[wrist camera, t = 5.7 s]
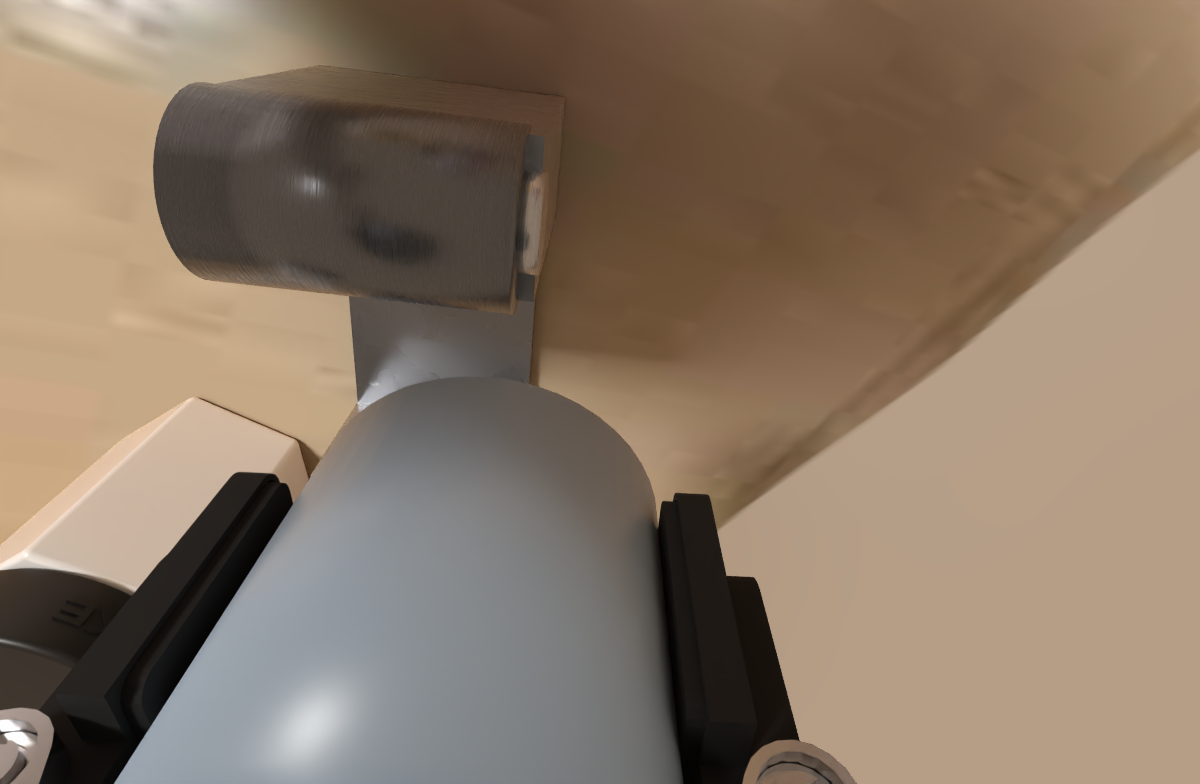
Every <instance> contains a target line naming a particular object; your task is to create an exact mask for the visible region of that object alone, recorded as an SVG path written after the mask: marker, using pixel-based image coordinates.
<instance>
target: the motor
mask: <svg viewBox="0 0 1200 784" xmlns="http://www.w3.org/2000/svg"><path fill="white" fill-rule="evenodd" d="M564 108H565V97H561V96H553V95H545V94H537V93H530V92H522V91H514V90H507V89H499V88H491V87H483V86H476V85H468V84H460V83H452V82H445V81H437V80H429V79H422V78H414V77H406V76H398V75H391V74H383V73H375V72H368V71H360V70H352V69H344V68H337V67H329V66H321V65H319V66H314V67H308V68H302V69H297V70H291V71H285V72H280V73H274V74H268V75H263V76H257V77H251V78H246V79H240V80H234V81H229V82H223V83H217V84H213V83H205V82H198V83H193V84H189V85H187V86H186V87H184V88H182V89H181V90H179V92H178V93H177V94H176V95H175V96H174V97H173V99H172V100H171V101H170V103H169V104H168V106H167V108H166V110H165V112H164V114H163V117H162V120H161V122H160V125H159V129H158V133H157V137H156V143H155V150H154V163H153V176H154V190H155V198H156V203H157V209H158V213H159V217H160V220H161V224H162V227H163V230H164V232H165V235H166V237H167V240H168V242H169V244H170V246H171V248H172V249H173V251H174V253H175V254H176V256H177V258H178V259H179V260H180V261H181V263H182V264H183V265H184V266H185V267H186V268H187V269H188V270H189V271H190V272H192V273H193V274H195V275H196V276H198V277H200V278H202V279H205V280H211V281H219V282H228V283H237V284H246V285H255V286H264V287H273V288H282V289H290V290H299V291H308V292H317V293H326V294H335V295H344V296H349V301H350V313H351V325H352V337H353V349H354V361H355V373H356V385H357V397H358V402H357V404H356V406H355V407H354V409H353V410H352V412H351V413H350V415H349V416H348V418H347V419H346V421H345V423H344V424H343V426H342V427H341V429H340V430H339V432H338V433H337V435H336V436H335V438H334V440H335V439H336V437H337V436H338V434H339V433H340V431H341V430H342V429H343V428H344V427H345V426H346V425H347V424H348V423H349V422H350V420H351V419H352V418H353V417H354V416H356V415H357V414H358V413H360V412H361V411H362V410H363V409H365V408H366V407H367V406H369V405H370V404H372V403H373V402H375V401H377V400H379V399H381V398H382V397H384V396H386V395H388V394H390V393H392V392H395V391H397V390H400V389H403V388H405V387H408V386H410V385H414V384H418V383H422V382H426V381H430V380H435V379H443V378H452V377H491V378H500V379H509V380H513V381H518V382H522V383H526V384H530V371H531V357H532V343H533V329H534V315H535V302H536V290H537V286H538V282H539V278H540V274H541V271H542V267H543V263H544V259H545V255H546V251H547V248H548V244H549V240H550V236H551V232H552V229H553V225H554V221H555V217H556V205H557V193H558V181H559V169H560V157H561V145H562V133H563V120H564ZM334 440H333V441H332V443H333V442H334ZM332 443H331V444H330V446H331V445H332ZM330 446H329V447H328V449H329V448H330ZM328 449H327V450H326V452H327V451H328ZM326 452H325V453H324V455H325V454H326ZM324 455H323V457H324ZM323 457H322V458H321V460H322V459H323ZM321 460H320V461H319V463H320V462H321ZM319 463H318V464H317V466H318V465H319ZM317 466H316V467H315V469H316V468H317ZM315 469H314V470H313V472H312V474H313V473H314V471H315ZM312 474H311V475H310V477H311V476H312Z"/></svg>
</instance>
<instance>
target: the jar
mask: <svg viewBox="0 0 1200 784" xmlns="http://www.w3.org/2000/svg"><path fill="white" fill-rule="evenodd" d="M237 472H255V473H272V474H275V475H276V476H277V477H278V478H279V481H280V483H286V484H287V485H288V486H289V489H290V492H291V496H292V501H293V504H294V502H295V501H296V499H297V498H298V496H299V494H300V493H301V491H302V490H303V488H304V487H305V485H306V483H307V482H308V480H309V478H308V475H307V471H306V468H305V464H304V461H303V457H302V454H301V450H300V447H299V443H298V442H297V440H295V439H293V438H291V437H288V436H286V435H284V434H281V433H279V432H277V431H274V430H272V429H270V428H267V427H265V426H263V425H260V424H258V423H256V422H253V421H251V420H248V419H246V418H244V417H241V416H239V415H237V414H234V413H232V412H230V411H227V410H225V409H223V408H220V407H218V406H216V405H213V404H211V403H209V402H206V401H204V400H202V399H199V398H196V397H191V398H189V399H187V400H186V401H184V402H182V403H181V404H179V405H177V406H176V407H174V408H173V409H171V410H169V411H168V412H166V413H164V414H163V415H161V416H159V417H158V418H156V419H154V420H153V421H151V422H149V423H148V424H146V425H145V426H143V427H141V428H140V429H138V430H136V431H135V432H133V433H131V434H130V435H128V436H126V437H125V438H123V439H121V440H120V441H119V442H118V443H117V444H116V445H115V446H113V447H112V448H111V449H110V450H109V451H108V452H107V453H105V454H104V455H103V456H102V457H101V458H100V459H99V460H97V461H96V462H95V463H94V464H93V465H92V466H91V467H89V468H88V469H87V470H86V471H85V472H84V473H83V474H81V475H80V476H79V477H78V478H77V479H76V480H74V481H73V482H72V483H71V484H70V485H69V486H68V487H66V488H65V489H64V490H63V491H62V492H61V493H60V494H58V495H57V496H56V497H55V498H54V499H53V500H52V501H50V502H49V503H48V504H47V505H46V506H45V507H44V508H42V509H41V510H40V511H39V512H38V513H37V514H36V515H34V516H33V517H32V518H31V519H30V520H29V521H28V522H26V523H25V524H24V525H23V526H22V527H21V528H20V529H18V530H17V531H16V532H15V533H14V534H13V535H11V536H10V537H9V538H8V539H7V540H6V541H5V542H3V543H2V544H1V545H0V710H7V709H14V708H28V709H35V710H39V709H40V708H41V707H42V706H43V704H44V703H45V702H46V701H47V699H48V698H49V697H50V696H51V694H52V693H53V692H54V691H55V690H56V688H57V687H58V686H59V685H60V683H61V682H62V681H63V680H64V679H65V677H66V676H67V675H68V674H69V672H70V671H71V670H72V669H73V667H74V666H75V665H76V664H77V663H78V661H79V660H80V659H81V658H82V656H83V655H84V654H85V653H86V651H87V650H88V649H89V648H90V647H91V645H92V644H93V643H94V642H95V640H96V639H97V638H98V637H99V636H100V634H101V633H102V632H103V631H104V629H105V628H106V627H107V626H108V624H109V623H110V622H111V621H112V620H113V618H114V617H115V616H116V615H117V613H118V612H119V611H120V610H121V608H122V607H123V606H124V605H125V604H126V602H127V601H128V600H129V599H130V597H131V596H132V595H133V594H134V593H135V591H136V590H137V589H138V588H139V586H140V585H141V584H142V583H143V581H144V580H145V579H146V578H147V577H148V575H149V574H150V573H151V572H152V570H153V569H154V568H155V567H156V565H157V564H158V563H159V562H160V561H161V560H162V559H163V558H164V557H165V556H166V555H167V554H168V553H169V552H170V551H171V550H172V548H173V547H174V546H175V545H176V544H177V542H178V541H179V540H180V539H181V537H182V536H183V535H184V534H185V532H186V531H187V530H188V529H189V527H190V526H191V525H192V524H193V523H194V521H195V520H196V519H197V518H198V516H199V515H200V514H201V513H202V511H203V510H204V509H205V508H206V506H207V505H208V504H209V503H210V502H211V500H212V499H213V498H214V497H215V495H216V494H217V493H218V492H219V490H220V489H221V488H222V487H223V485H224V484H225V483H226V482H227V481H228V479H229V478H230V477H231V476H232V475H233V474H234V473H237Z"/></svg>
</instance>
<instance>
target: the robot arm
mask: <svg viewBox="0 0 1200 784" xmlns="http://www.w3.org/2000/svg"><path fill="white" fill-rule="evenodd" d="M292 505H293V501H292V496H291V492H290V489H289V486H288V485H287V484H286V483H280V481H279V478H278V477H277V476H276V475H275V474H272V473H255V472H237V473H234V474H233V475H232V476H231V477H230V478H229V479H228V481H227V482H226V483H225V484H224V485H223V487H222V488H221V489H220V490H219V492H218V493H217V494H216V495H215V497H214V498H213V499H212V500H211V502H210V503H209V504H208V505H207V506H206V508H205V509H204V510H203V511H202V513H201V514H200V515H199V516H198V518H197V519H196V520H195V521H194V523H193V524H192V525H191V526H190V527H189V529H188V530H187V531H186V532H185V534H184V535H183V536H182V537H181V539H180V540H179V541H178V542H177V544H176V545H175V546H174V547H173V548H172V550H171V551H170V552H169V553H168V554H167V555H166V556H165V557H164V558H163V559H162V560H161V561H160V562H159V563H158V564H157V565H156V567H155V568H154V569H153V570H152V572H151V573H150V574H149V575H148V577H147V578H146V579H145V580H144V581H143V583H142V584H141V585H140V586H139V588H138V589H137V590H136V591H135V593H134V594H133V595H132V596H131V597H130V599H129V600H128V601H127V602H126V604H125V605H124V606H123V607H122V608H121V610H120V611H119V612H118V613H117V615H116V616H115V617H114V618H113V620H112V621H111V622H110V623H109V624H108V626H107V627H106V628H105V629H104V631H103V632H102V633H101V634H100V636H99V637H98V638H97V639H96V640H95V642H94V643H93V644H92V645H91V647H90V648H89V649H88V650H87V651H86V653H85V654H84V655H83V656H82V658H81V659H80V660H79V661H78V663H77V664H76V665H75V666H74V667H73V669H72V670H71V671H70V672H69V674H68V675H67V676H66V677H65V679H64V680H63V681H62V682H61V683H60V685H59V686H58V687H57V688H56V690H55V691H54V692H53V693H52V694H51V696H50V697H49V698H48V699H47V701H46V702H45V703H44V704H43V706H42V707H41V708H40V709H39V710H35V709H28V708H14V709H7V710H0V784H114V783H115V781H116V780H117V778H118V777H119V775H120V774H121V772H122V771H123V769H124V767H125V766H126V764H127V763H128V761H129V760H130V758H131V756H132V755H133V753H134V752H135V750H136V749H137V747H138V746H139V744H140V742H141V741H142V739H143V738H144V736H145V735H146V733H147V732H148V730H149V728H150V727H151V725H152V724H153V722H154V721H155V719H156V717H157V716H158V714H159V713H160V711H161V710H162V708H163V707H164V705H165V703H166V702H167V700H168V699H169V697H170V696H171V694H172V693H173V691H174V689H175V688H176V686H177V685H178V683H179V682H180V680H181V678H182V677H183V675H184V674H185V672H186V671H187V669H188V668H189V666H190V664H191V663H192V661H193V660H194V658H195V657H196V655H197V654H198V652H199V650H200V649H201V647H202V646H203V644H204V643H205V641H206V639H207V638H208V636H209V635H210V633H211V632H212V630H213V629H214V627H215V625H216V624H217V622H218V621H219V619H220V618H221V616H222V615H223V613H224V611H225V610H226V608H227V607H228V605H229V604H230V602H231V600H232V599H233V597H234V596H235V594H236V593H237V591H238V590H239V588H240V586H241V585H242V583H243V582H244V580H245V579H246V577H247V576H248V574H249V572H250V571H251V569H252V568H253V566H254V565H255V563H256V561H257V560H258V558H259V557H260V555H261V554H262V552H263V551H264V549H265V547H266V546H267V544H268V543H269V541H270V540H271V538H272V537H273V535H274V533H275V532H276V530H277V529H278V527H279V526H280V524H281V522H282V521H283V519H284V518H285V516H286V515H287V513H288V512H289V510H290V508H291V507H292ZM658 535H659V545H660V555H661V566H662V576H663V586H664V596H665V606H666V617H667V627H668V637H669V647H670V657H671V668H672V678H673V688H674V698H675V708H676V718H677V729H678V739H679V749H680V759H681V766H682V774H683V783H684V784H857V783H856V782H855V780H854V779H853V778H852V776H851V775H850V774H849V772H848V771H847V769H846V768H845V767H844V766H843V765H842V764H841V763H839V762H838V761H837V760H836V759H835V758H834V757H833V756H831V755H830V754H829V753H827V752H825V751H823V750H822V749H820V748H818V747H816V746H814V745H812V744H809V743H805V742H801V741H800V740H799V737H798V733H797V729H796V725H795V722H794V718H793V714H792V710H791V706H790V702H789V699H788V695H787V691H786V687H785V684H784V680H783V676H782V672H781V668H780V665H779V661H778V657H777V653H776V650H775V645H774V642H773V638H772V634H771V630H770V626H769V623H768V619H767V615H766V612H765V607H764V604H763V600H762V596H761V592H760V589H759V586H758V583H757V581H756V580H755V578H754V577H738V576H726V572H725V567H724V562H723V557H722V553H721V548H720V543H719V538H718V534H717V529H716V524H715V519H714V515H713V510H712V505H711V500H710V497H709V495H705V494H685V493H675V495H674V499H673V502H670V501H663V502H662V504H661V511H660V518H659V526H658Z"/></svg>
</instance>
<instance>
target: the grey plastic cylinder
mask: <svg viewBox="0 0 1200 784" xmlns="http://www.w3.org/2000/svg"><path fill="white" fill-rule="evenodd" d="M114 784H684V783H683V774H682V766H681V759H680V749H679V739H678V729H677V718H676V708H675V698H674V688H673V678H672V668H671V657H670V647H669V637H668V627H667V617H666V606H665V596H664V586H663V576H662V566H661V555H660V545H659V535H658V521H657V512H656V503H655V497H654V493H653V490H652V487H651V483H650V480H649V478H648V476H647V474H646V472H645V470H644V468H643V466H642V464H641V462H640V461H639V459H638V458H637V456H636V455H635V453H634V452H633V450H632V449H631V447H630V446H629V445H628V444H627V443H626V442H625V441H624V440H623V438H622V437H621V436H620V435H619V434H618V433H617V432H616V431H615V430H614V429H613V428H611V427H610V426H609V425H608V424H607V423H606V422H604V421H603V420H602V419H601V418H600V417H598V416H597V415H595V414H594V413H592V412H591V411H589V410H587V409H586V408H584V407H583V406H581V405H580V404H578V403H576V402H574V401H572V400H570V399H568V398H565V397H563V396H561V395H559V394H557V393H554V392H552V391H549V390H546V389H543V388H540V387H537V386H535V385H531V384H526V383H522V382H518V381H513V380H509V379H500V378H491V377H452V378H443V379H435V380H430V381H426V382H422V383H418V384H414V385H410V386H408V387H405V388H403V389H400V390H397V391H395V392H392V393H390V394H388V395H386V396H384V397H382V398H381V399H379V400H377V401H375V402H373V403H372V404H370V405H369V406H367V407H366V408H365V409H363V410H362V411H361V412H360V413H358V414H357V415H356V416H354V417H353V418H352V419H351V420H350V422H349V423H348V424H347V425H346V426H345V427H344V428H343V429H342V430H341V431H340V433H339V434H338V436H337V437H336V439H335V440H334V442H333V443H332V445H331V446H330V448H329V449H328V451H327V452H326V454H325V455H324V457H323V459H322V460H321V462H320V463H319V465H318V466H317V468H316V469H315V471H314V473H313V474H312V476H311V477H310V479H309V480H308V482H307V483H306V485H305V487H304V488H303V490H302V491H301V493H300V494H299V496H298V498H297V499H296V501H295V502H294V504H293V505H292V507H291V508H290V510H289V512H288V513H287V515H286V516H285V518H284V519H283V521H282V522H281V524H280V526H279V527H278V529H277V530H276V532H275V533H274V535H273V537H272V538H271V540H270V541H269V543H268V544H267V546H266V547H265V549H264V551H263V552H262V554H261V555H260V557H259V558H258V560H257V561H256V563H255V565H254V566H253V568H252V569H251V571H250V572H249V574H248V576H247V577H246V579H245V580H244V582H243V583H242V585H241V586H240V588H239V590H238V591H237V593H236V594H235V596H234V597H233V599H232V600H231V602H230V604H229V605H228V607H227V608H226V610H225V611H224V613H223V615H222V616H221V618H220V619H219V621H218V622H217V624H216V625H215V627H214V629H213V630H212V632H211V633H210V635H209V636H208V638H207V639H206V641H205V643H204V644H203V646H202V647H201V649H200V650H199V652H198V654H197V655H196V657H195V658H194V660H193V661H192V663H191V664H190V666H189V668H188V669H187V671H186V672H185V674H184V675H183V677H182V678H181V680H180V682H179V683H178V685H177V686H176V688H175V689H174V691H173V693H172V694H171V696H170V697H169V699H168V700H167V702H166V703H165V705H164V707H163V708H162V710H161V711H160V713H159V714H158V716H157V717H156V719H155V721H154V722H153V724H152V725H151V727H150V728H149V730H148V732H147V733H146V735H145V736H144V738H143V739H142V741H141V742H140V744H139V746H138V747H137V749H136V750H135V752H134V753H133V755H132V756H131V758H130V760H129V761H128V763H127V764H126V766H125V767H124V769H123V771H122V772H121V774H120V775H119V777H118V778H117V780H116V781H115V783H114Z"/></svg>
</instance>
